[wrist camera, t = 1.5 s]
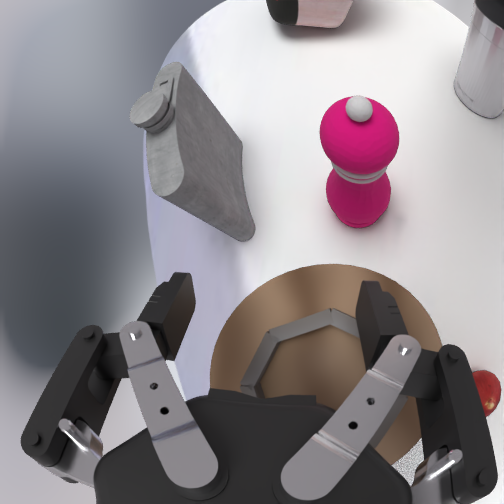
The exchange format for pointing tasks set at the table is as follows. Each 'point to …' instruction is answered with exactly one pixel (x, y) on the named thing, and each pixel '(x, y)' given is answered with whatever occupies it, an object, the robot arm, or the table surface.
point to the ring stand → (316, 345)
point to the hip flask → (193, 152)
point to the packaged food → (309, 12)
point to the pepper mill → (358, 158)
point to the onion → (488, 390)
